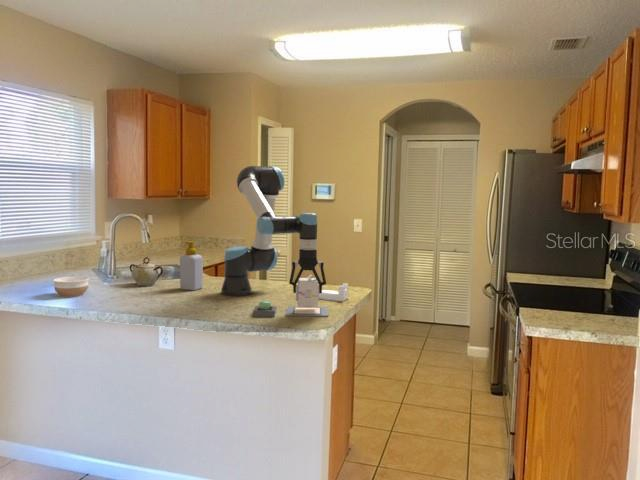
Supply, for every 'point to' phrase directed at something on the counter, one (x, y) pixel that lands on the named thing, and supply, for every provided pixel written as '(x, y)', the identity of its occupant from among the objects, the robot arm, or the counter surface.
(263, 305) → the button
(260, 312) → the button housing
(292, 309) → the clipboard
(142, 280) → the sugar bowl
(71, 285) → the bowl
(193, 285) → the soap bottle
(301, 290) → the ink box
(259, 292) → the counter surface
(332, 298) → the bracket
